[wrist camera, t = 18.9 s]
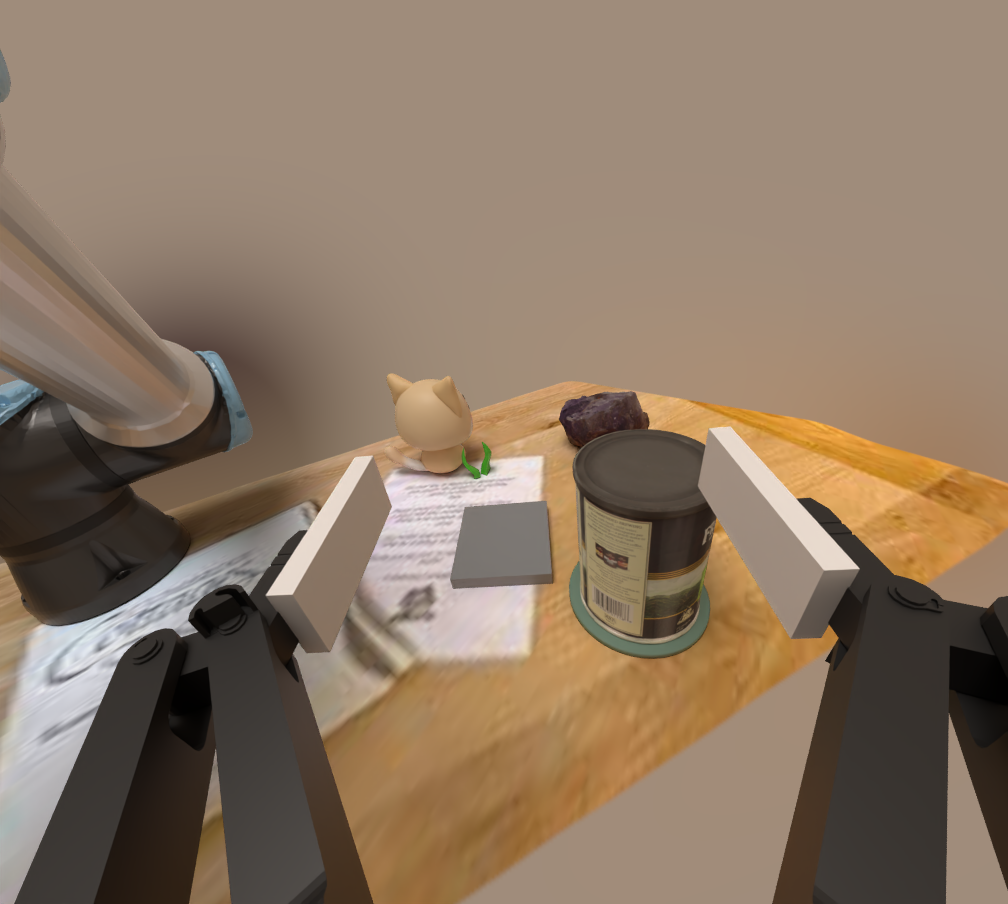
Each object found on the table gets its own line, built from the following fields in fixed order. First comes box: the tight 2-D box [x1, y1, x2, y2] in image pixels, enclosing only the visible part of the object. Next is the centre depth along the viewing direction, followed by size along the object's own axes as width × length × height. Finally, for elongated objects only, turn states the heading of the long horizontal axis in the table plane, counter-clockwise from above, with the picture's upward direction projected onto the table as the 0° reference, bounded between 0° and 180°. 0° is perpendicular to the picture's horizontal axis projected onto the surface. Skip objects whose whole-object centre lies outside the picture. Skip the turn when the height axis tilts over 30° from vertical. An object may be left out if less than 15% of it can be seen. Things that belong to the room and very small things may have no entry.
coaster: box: [569, 561, 710, 658], centre depth 35 cm, size 12×12×1 cm
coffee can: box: [573, 429, 717, 644], centre depth 31 cm, size 10×10×14 cm
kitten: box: [384, 374, 491, 479], centre depth 55 cm, size 15×10×15 cm, turn 67°
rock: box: [559, 391, 649, 447], centre depth 55 cm, size 12×9×10 cm
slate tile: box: [450, 501, 553, 589], centre depth 43 cm, size 2×10×11 cm
